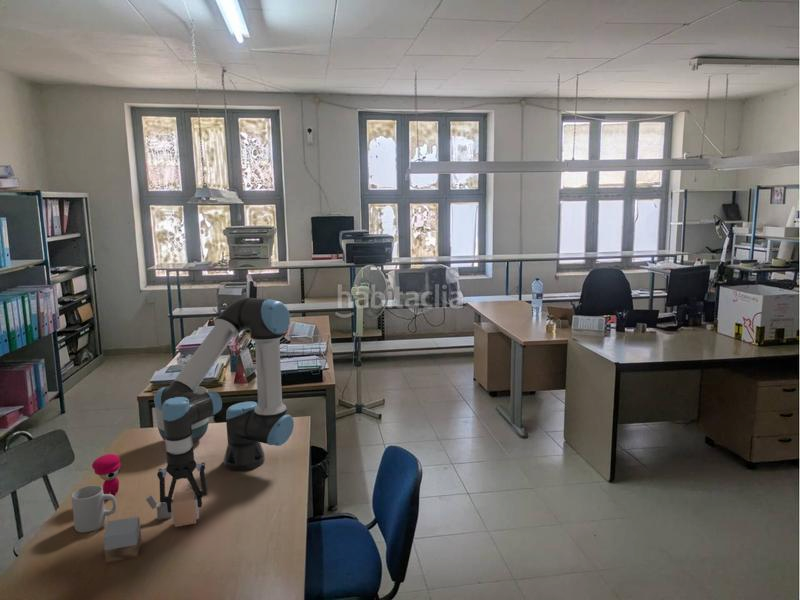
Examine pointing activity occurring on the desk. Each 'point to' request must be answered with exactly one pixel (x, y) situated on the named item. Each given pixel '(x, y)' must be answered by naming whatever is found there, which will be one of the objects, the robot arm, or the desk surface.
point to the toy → (108, 472)
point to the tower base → (123, 552)
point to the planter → (197, 428)
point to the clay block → (184, 508)
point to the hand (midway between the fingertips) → (186, 518)
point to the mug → (90, 508)
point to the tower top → (122, 533)
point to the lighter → (159, 508)
